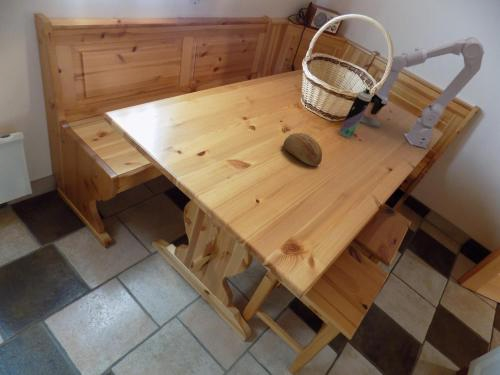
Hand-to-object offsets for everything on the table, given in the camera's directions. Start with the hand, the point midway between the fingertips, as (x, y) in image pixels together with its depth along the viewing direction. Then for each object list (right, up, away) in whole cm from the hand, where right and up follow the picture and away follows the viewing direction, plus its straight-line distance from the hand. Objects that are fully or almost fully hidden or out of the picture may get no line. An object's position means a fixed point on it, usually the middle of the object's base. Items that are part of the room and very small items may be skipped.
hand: (371, 111), depth 147 cm
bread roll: (-39, -25, -36) cm, 58 cm away
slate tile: (-1, -4, +3) cm, 5 cm away
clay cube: (0, -1, +1) cm, 2 cm away
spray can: (-16, -13, -14) cm, 25 cm away
